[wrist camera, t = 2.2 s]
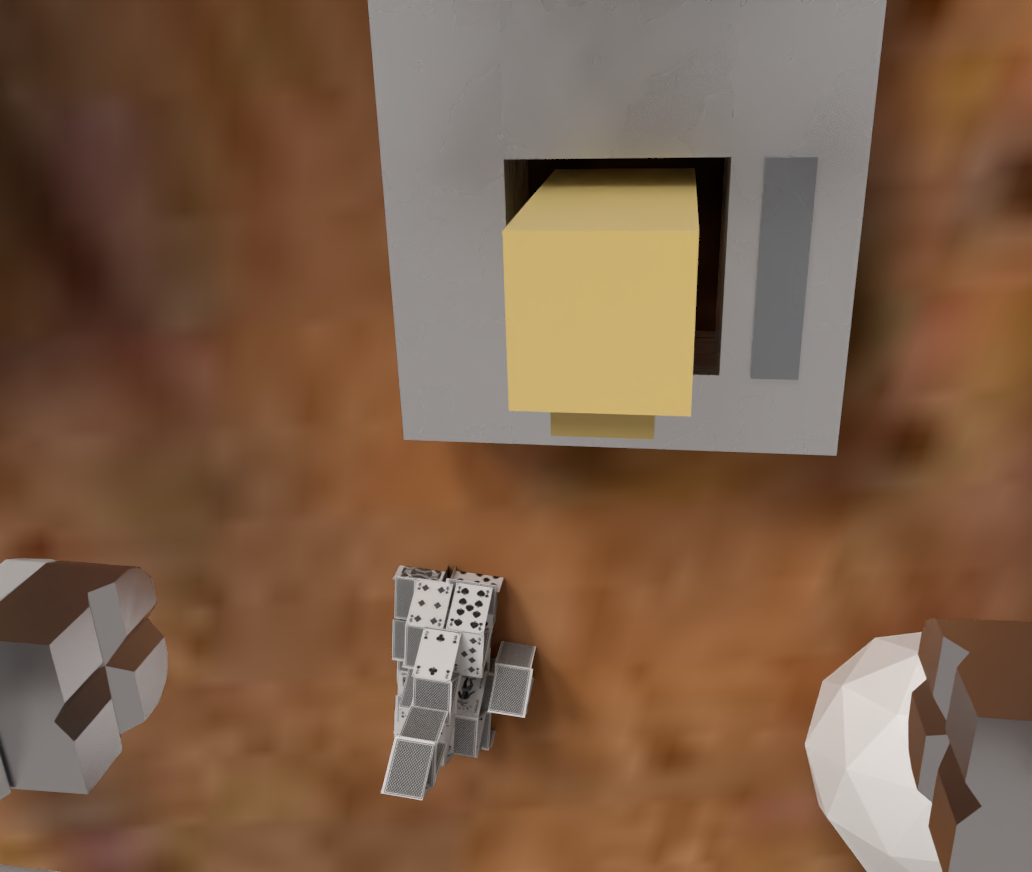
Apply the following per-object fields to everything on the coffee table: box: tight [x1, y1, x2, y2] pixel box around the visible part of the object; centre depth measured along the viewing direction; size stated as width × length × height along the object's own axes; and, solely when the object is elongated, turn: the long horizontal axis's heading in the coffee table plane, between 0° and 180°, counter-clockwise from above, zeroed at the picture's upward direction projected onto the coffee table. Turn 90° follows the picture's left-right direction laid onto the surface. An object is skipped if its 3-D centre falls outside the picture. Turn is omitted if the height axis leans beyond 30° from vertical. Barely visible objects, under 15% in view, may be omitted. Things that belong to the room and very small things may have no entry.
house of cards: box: [381, 565, 536, 800], centre depth 32 cm, size 9×9×8 cm
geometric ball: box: [805, 632, 943, 872], centre depth 29 cm, size 8×8×8 cm
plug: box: [502, 168, 699, 439], centre depth 25 cm, size 5×4×9 cm
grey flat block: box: [368, 0, 887, 456], centre depth 24 cm, size 22×12×4 cm, turn 2°
